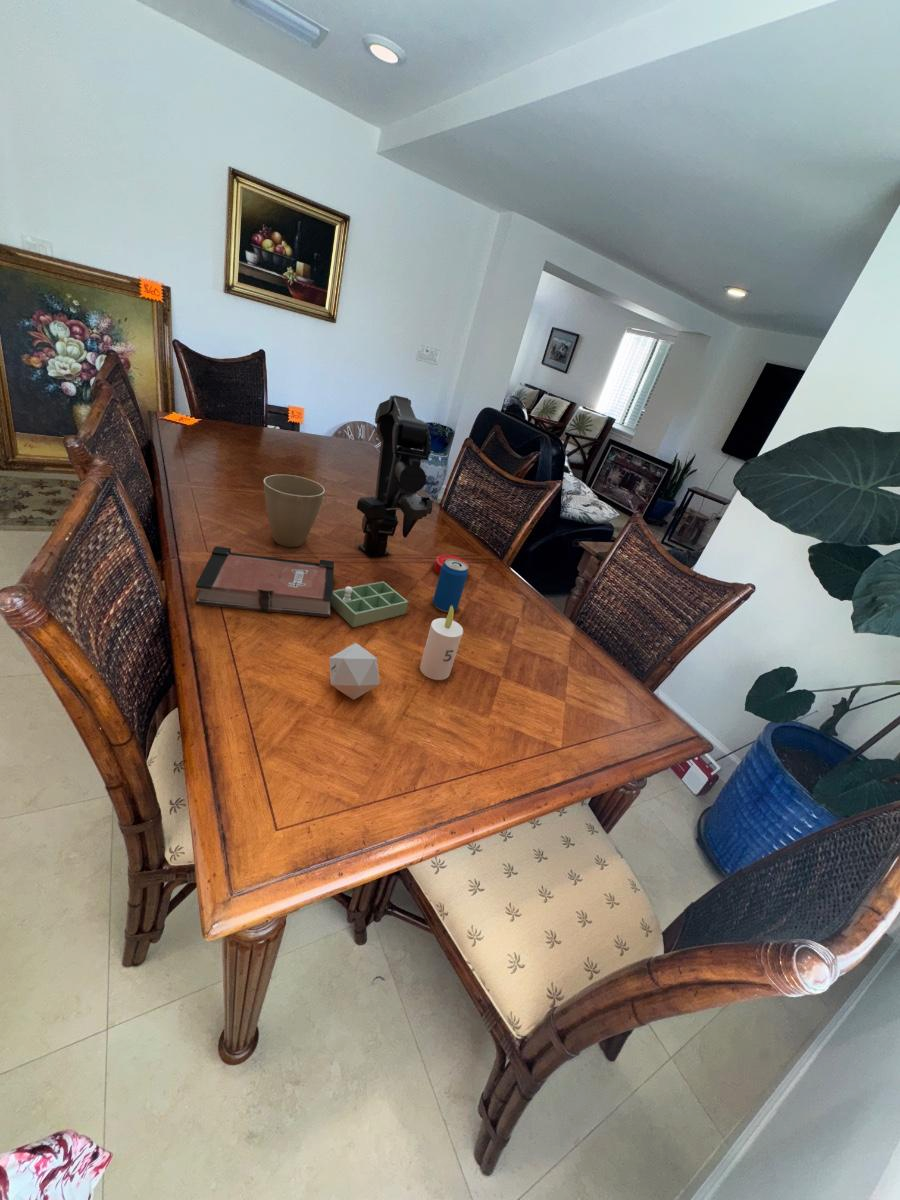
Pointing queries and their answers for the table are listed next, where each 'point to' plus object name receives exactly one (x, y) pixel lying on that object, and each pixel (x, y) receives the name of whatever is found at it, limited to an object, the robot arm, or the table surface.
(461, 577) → the beverage can
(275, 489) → the plant pot
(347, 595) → the chess pawn
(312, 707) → the table surface
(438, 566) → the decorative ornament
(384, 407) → the robot arm
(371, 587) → the grid
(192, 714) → the table surface
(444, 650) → the candle
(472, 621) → the table surface
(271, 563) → the book
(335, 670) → the die
